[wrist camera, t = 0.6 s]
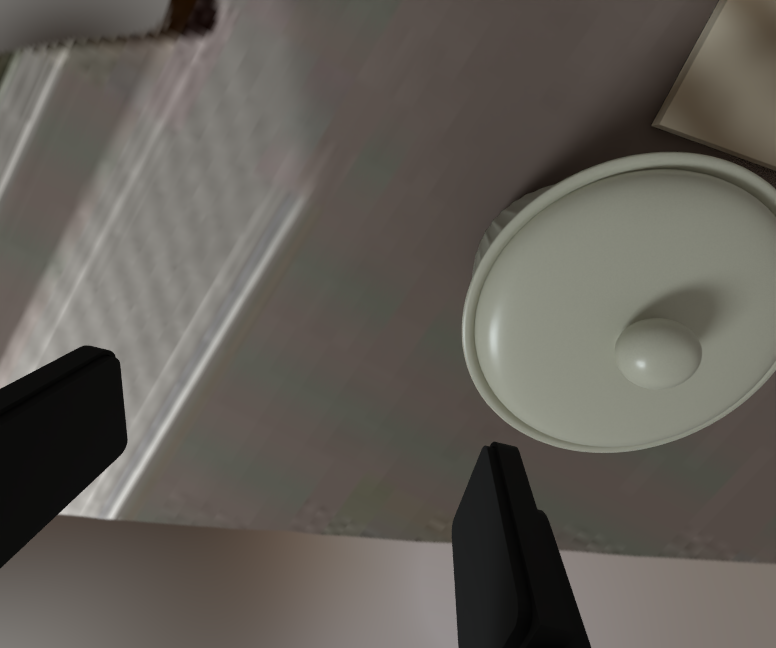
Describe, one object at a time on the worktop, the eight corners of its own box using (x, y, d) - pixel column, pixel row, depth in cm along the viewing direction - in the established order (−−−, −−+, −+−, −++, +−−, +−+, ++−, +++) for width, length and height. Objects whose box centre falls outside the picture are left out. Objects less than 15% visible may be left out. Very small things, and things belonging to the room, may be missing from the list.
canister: (681, 175, 32) (1053, 192, 13) (602, 358, 40) (766, 541, 20) (473, 142, 33) (534, 110, 14) (432, 327, 40) (435, 478, 21)
